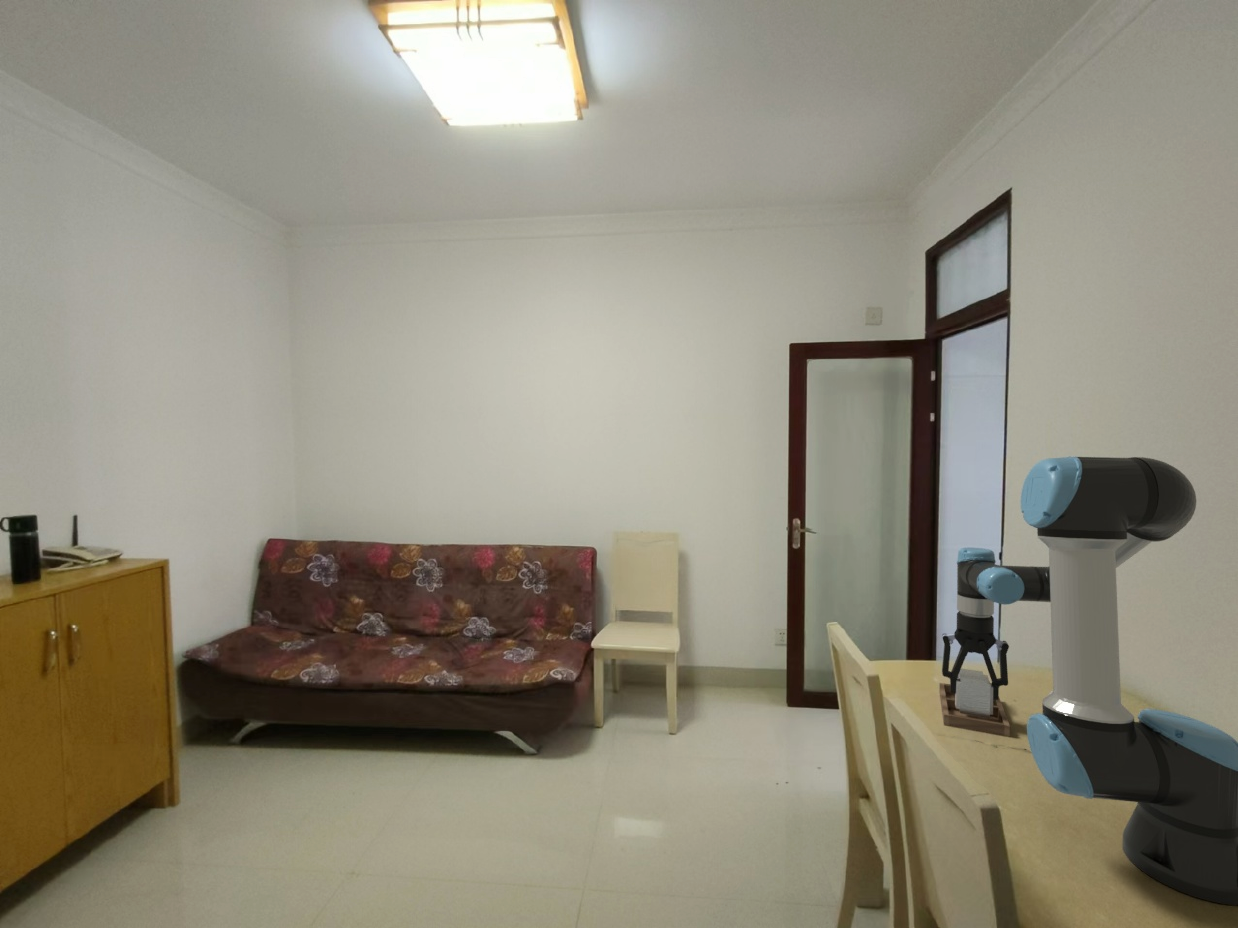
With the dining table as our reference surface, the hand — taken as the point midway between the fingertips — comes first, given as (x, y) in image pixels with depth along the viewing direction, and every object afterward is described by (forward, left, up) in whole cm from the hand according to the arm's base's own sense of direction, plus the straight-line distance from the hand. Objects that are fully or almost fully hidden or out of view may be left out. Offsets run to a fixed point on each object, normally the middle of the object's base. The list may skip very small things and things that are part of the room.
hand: (973, 709), depth 139 cm
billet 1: (+10, 0, -3) cm, 10 cm away
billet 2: (0, 0, 0) cm, 0 cm away
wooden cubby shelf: (+5, 0, -4) cm, 6 cm away
